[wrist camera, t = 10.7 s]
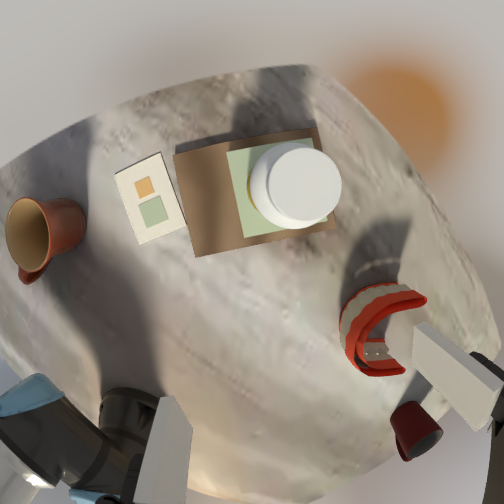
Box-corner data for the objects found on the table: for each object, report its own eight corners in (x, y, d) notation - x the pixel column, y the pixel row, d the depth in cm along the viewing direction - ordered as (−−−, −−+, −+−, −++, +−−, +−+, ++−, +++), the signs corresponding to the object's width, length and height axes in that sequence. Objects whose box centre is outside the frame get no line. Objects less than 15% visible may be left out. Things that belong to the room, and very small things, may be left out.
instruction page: (139, 244, 34) (139, 245, 34) (114, 175, 32) (113, 175, 31) (186, 225, 34) (186, 225, 33) (160, 153, 32) (159, 152, 31)
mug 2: (404, 431, 47) (422, 460, 36) (375, 437, 46) (391, 470, 35) (426, 395, 44) (450, 425, 33) (397, 401, 43) (420, 435, 33)
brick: (243, 230, 33) (244, 238, 28) (228, 158, 31) (226, 152, 26) (314, 216, 33) (327, 221, 28) (301, 145, 31) (311, 137, 26)
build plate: (196, 255, 35) (195, 257, 34) (174, 156, 32) (172, 155, 31) (332, 226, 35) (335, 228, 34) (314, 129, 32) (316, 127, 31)
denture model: (338, 277, 36) (361, 299, 29) (398, 277, 37) (428, 295, 29) (325, 353, 39) (341, 385, 31) (381, 347, 40) (403, 374, 32)
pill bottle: (252, 223, 28) (262, 246, 17) (241, 161, 26) (242, 140, 15) (313, 212, 28) (360, 228, 17) (303, 151, 26) (345, 128, 15)
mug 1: (60, 183, 31) (15, 185, 21) (102, 209, 33) (59, 218, 23) (38, 252, 33) (-3, 270, 23) (76, 281, 35) (37, 307, 25)
